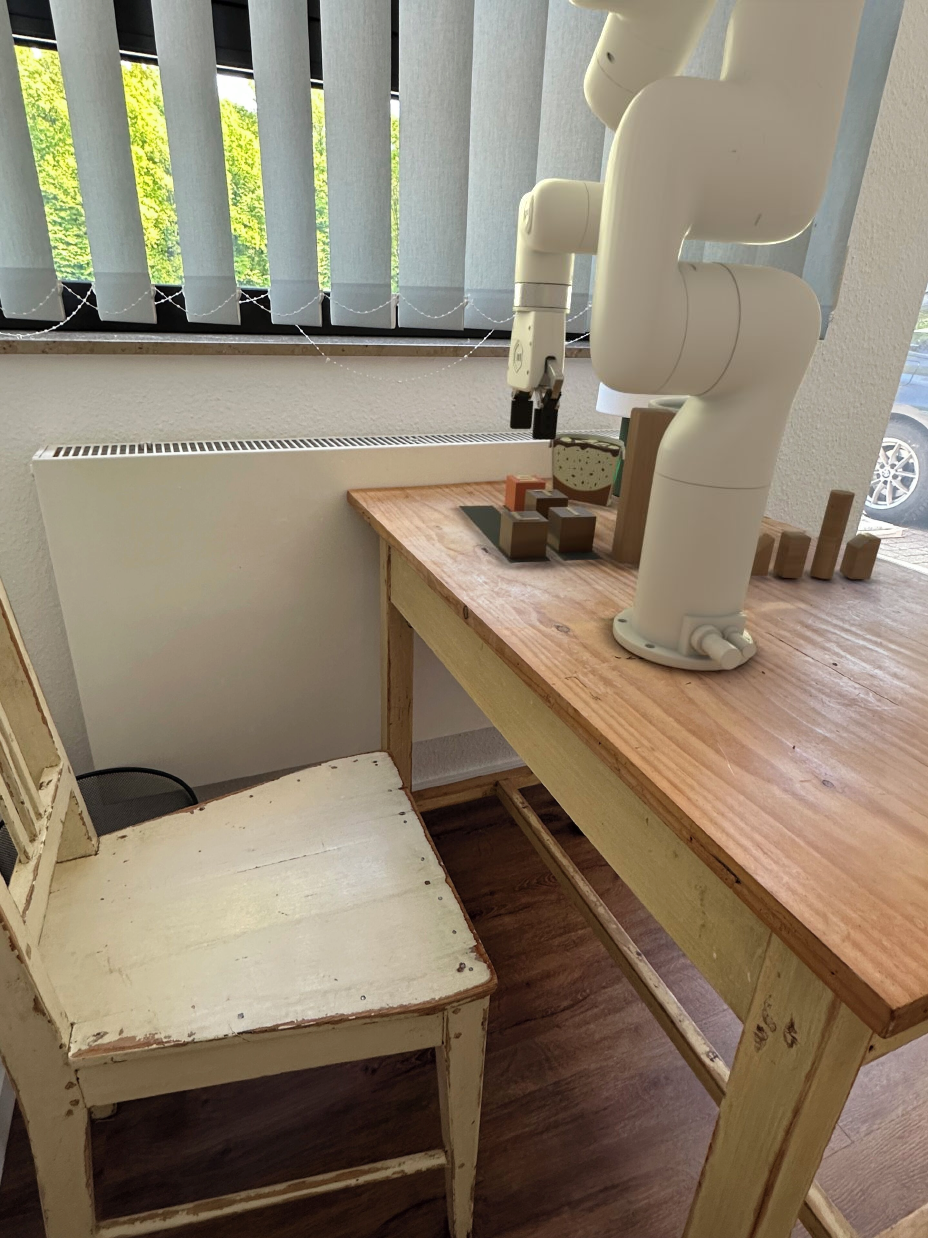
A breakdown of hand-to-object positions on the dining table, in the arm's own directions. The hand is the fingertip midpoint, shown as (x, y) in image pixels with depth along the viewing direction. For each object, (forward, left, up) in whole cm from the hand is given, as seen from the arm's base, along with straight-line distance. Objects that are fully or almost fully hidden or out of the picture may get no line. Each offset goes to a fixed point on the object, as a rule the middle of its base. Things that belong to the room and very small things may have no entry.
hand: (531, 433), depth 101 cm
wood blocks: (-28, -20, -12) cm, 37 cm away
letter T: (-8, 0, -11) cm, 14 cm away
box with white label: (-18, +7, -11) cm, 23 cm away
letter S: (+1, 0, -11) cm, 11 cm away
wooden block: (-22, -9, -12) cm, 27 cm away
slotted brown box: (-17, 0, -11) cm, 20 cm away
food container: (+7, -13, -12) cm, 18 cm away
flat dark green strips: (-9, +3, -12) cm, 15 cm away
